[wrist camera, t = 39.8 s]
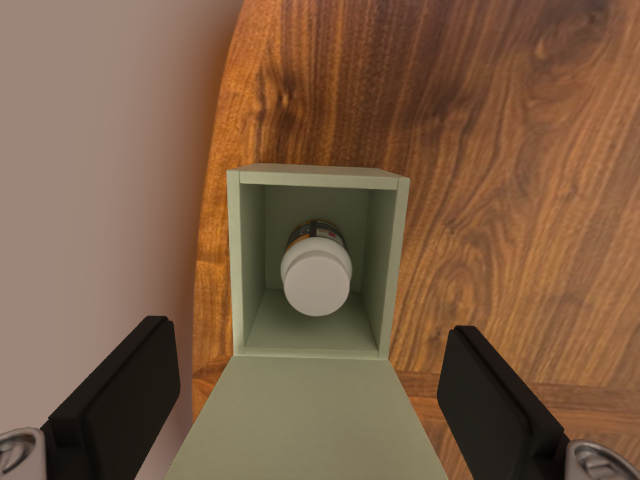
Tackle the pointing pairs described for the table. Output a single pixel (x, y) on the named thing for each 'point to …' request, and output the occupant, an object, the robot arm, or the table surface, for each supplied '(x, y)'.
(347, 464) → the lid
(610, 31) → the table surface
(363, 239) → the chest
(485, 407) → the robot arm
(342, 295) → the pill bottle
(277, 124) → the table surface
